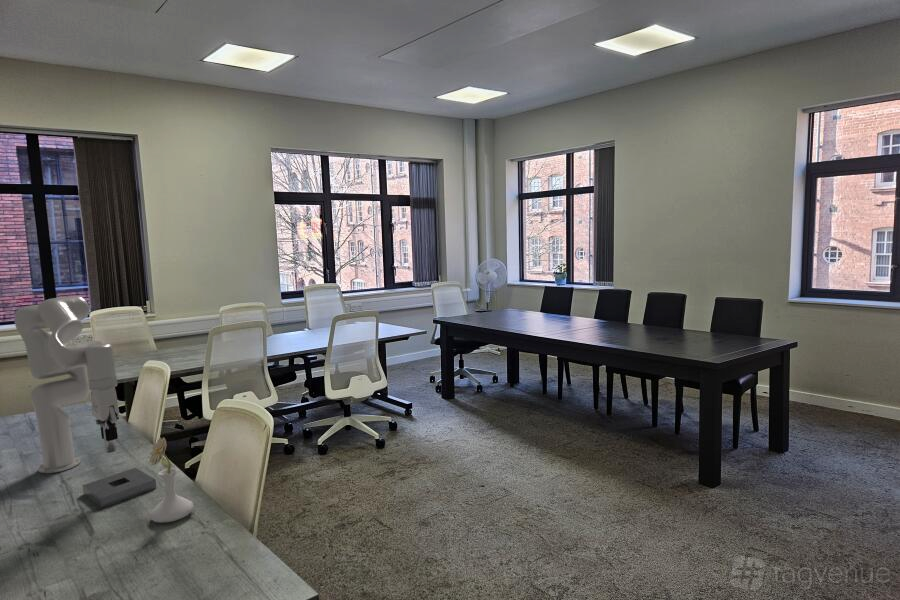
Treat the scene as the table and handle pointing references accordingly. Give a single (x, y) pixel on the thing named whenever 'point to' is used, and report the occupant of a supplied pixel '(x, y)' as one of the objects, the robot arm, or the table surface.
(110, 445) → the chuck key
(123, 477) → the block
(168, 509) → the flower in vase
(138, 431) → the table surface
